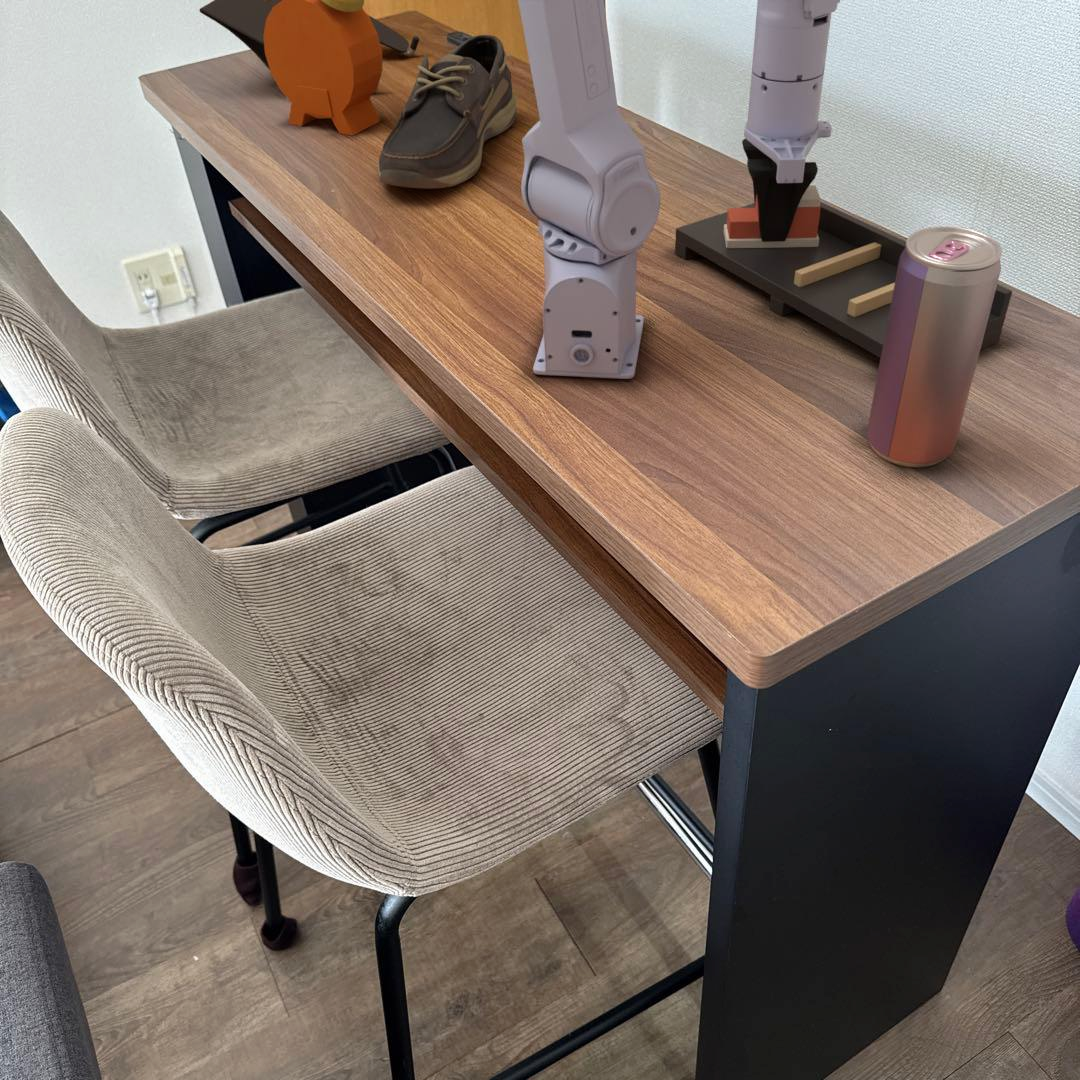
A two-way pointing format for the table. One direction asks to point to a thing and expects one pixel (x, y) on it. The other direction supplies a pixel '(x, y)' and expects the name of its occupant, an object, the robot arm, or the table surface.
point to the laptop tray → (246, 18)
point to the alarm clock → (325, 61)
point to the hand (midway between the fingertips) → (771, 231)
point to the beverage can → (932, 343)
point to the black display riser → (825, 274)
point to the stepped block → (802, 233)
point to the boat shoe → (450, 117)
